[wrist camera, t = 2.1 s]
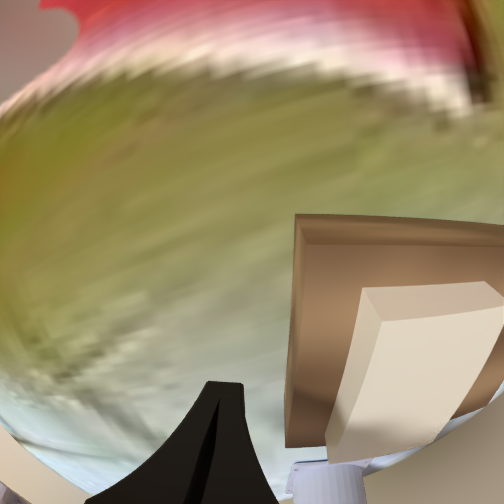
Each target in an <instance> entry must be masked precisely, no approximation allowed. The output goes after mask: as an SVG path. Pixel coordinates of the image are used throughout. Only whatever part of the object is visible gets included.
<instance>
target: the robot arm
mask: <svg viewBox="0 0 504 504" xmlns="http://www.w3.org/2000/svg"><path fill="white" fill-rule="evenodd" d="M372 459H373V458H369V459H363V460H357V461H351V462H344V463H336V464H328V461H321V462H308V463H295V464H293V465H292V468H291V472H290V476H289V480H288V483H287V487H286V490H285V493H287V494H293V502H294V503H293V504H367V501H366V494H365V489H364V483H363V477H362V473H363V471H364V470H365V469H366V468H367V466H368V465H369V464H370V462H371V461H372ZM0 504H31V503H30V502H28V501H27V500H25V499H24V498H23V497H21V496H20V495H19V494H17V493H16V492H14V491H12V490H11V489H10V488H9V487H7V486H6V485H5V484H4V483H2V482H1V481H0ZM84 504H279V503H278V501H277V499H276V497H275V495H274V494H273V492H272V490H271V488H270V486H269V484H268V482H267V480H266V478H265V476H264V473H263V471H262V469H261V466H260V464H259V461H258V459H257V456H256V453H255V451H254V448H253V445H252V441H251V438H250V435H249V431H248V427H247V422H246V418H245V401H244V385H243V384H241V383H233V382H217V381H208V382H206V384H205V386H204V388H203V390H202V391H201V393H200V395H199V397H198V398H197V400H196V401H195V403H194V405H193V406H192V408H191V409H190V411H189V412H188V413H187V415H186V416H185V418H184V419H183V420H182V422H181V423H180V425H179V426H178V427H177V428H176V429H175V431H174V432H173V433H172V434H171V436H170V437H169V438H168V439H167V440H166V441H165V442H164V444H163V445H162V446H161V447H160V448H159V449H158V450H157V451H156V452H155V453H154V454H153V455H152V456H151V457H150V458H149V459H147V460H146V461H145V462H144V463H143V464H142V465H141V466H139V467H138V468H137V469H136V470H134V471H133V472H132V473H131V474H129V475H128V476H126V477H125V478H123V479H122V480H120V481H119V482H117V483H116V484H114V485H113V486H111V487H110V488H108V489H106V490H104V491H102V492H100V493H98V494H97V495H95V496H93V497H91V498H89V499H87V500H86V501H85V503H84Z"/></svg>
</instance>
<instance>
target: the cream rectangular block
mask: <svg viewBox="0 0 504 504" xmlns="http://www.w3.org/2000/svg"><path fill="white" fill-rule="evenodd" d="M503 325H504V297H503V296H502V295H500V294H499V293H498V292H497V291H496V290H495V289H493V288H492V287H491V286H490V285H489V284H487V283H486V282H485V281H480V282H467V283H453V284H437V285H418V286H396V287H367V288H362V292H361V298H360V303H359V309H358V314H357V319H356V323H355V328H354V333H353V337H352V341H351V346H350V350H349V354H348V358H347V362H346V366H345V370H344V373H343V377H342V381H341V384H340V388H339V391H338V394H337V398H336V401H335V404H334V407H333V411H332V414H331V417H330V420H329V423H328V426H327V429H326V432H325V441H326V448H327V456H328V464H336V463H344V462H351V461H357V460H363V459H369V458H374V457H379V456H384V455H389V454H393V453H397V452H401V451H405V450H409V449H413V448H416V447H420V446H423V445H426V444H429V443H432V441H433V440H434V439H435V438H436V437H437V435H438V434H439V433H440V432H441V430H442V429H443V428H444V426H445V425H446V424H447V422H448V421H449V420H450V418H451V417H452V415H453V414H454V413H455V411H456V410H457V408H458V407H459V405H460V404H461V403H462V401H463V399H464V398H465V396H466V395H467V393H468V392H469V390H470V389H471V387H472V385H473V384H474V382H475V380H476V379H477V377H478V375H479V373H480V372H481V370H482V368H483V366H484V364H485V362H486V361H487V359H488V357H489V355H490V353H491V351H492V349H493V347H494V345H495V343H496V341H497V338H498V336H499V334H500V332H501V330H502V327H503Z"/></svg>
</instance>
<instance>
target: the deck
mask: <svg viewBox="0 0 504 504" xmlns="http://www.w3.org/2000/svg"><path fill="white" fill-rule="evenodd" d="M480 281H485V282H486V283H487V284H489V285H490V286H491V287H492V288H493V289H495V290H496V291H497V292H498V293H499V294H500V295H502V296H503V297H504V225H496V224H486V223H476V222H464V221H452V220H438V219H423V218H406V217H387V216H363V215H331V214H295V233H294V261H293V282H292V301H291V317H290V332H289V346H288V358H287V370H286V381H285V392H284V419H285V448H303V447H318V446H326V441H325V432H326V429H327V426H328V423H329V420H330V417H331V414H332V411H333V407H334V404H335V401H336V398H337V394H338V391H339V388H340V384H341V381H342V377H343V373H344V370H345V366H346V362H347V358H348V354H349V350H350V346H351V341H352V337H353V333H354V328H355V323H356V319H357V314H358V309H359V303H360V298H361V292H362V288H367V287H396V286H418V285H437V284H453V283H467V282H480ZM503 380H504V325H503V327H502V330H501V332H500V334H499V336H498V338H497V341H496V343H495V345H494V347H493V349H492V351H491V353H490V355H489V357H488V359H487V361H486V362H485V364H484V366H483V368H482V370H481V372H480V373H479V375H478V377H477V379H476V380H475V382H474V384H473V385H472V387H471V389H470V390H469V392H468V393H467V395H466V396H465V398H464V399H463V401H462V403H461V404H460V405H459V407H458V408H457V410H456V411H455V413H454V414H453V415H452V417H451V418H450V420H451V419H454V418H457V417H460V416H462V415H465V414H468V413H470V412H473V411H475V410H478V409H480V408H483V407H485V406H487V404H488V403H489V402H490V400H491V399H492V397H493V396H494V394H495V393H496V391H497V390H498V388H499V387H500V385H501V384H502V382H503Z"/></svg>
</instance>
